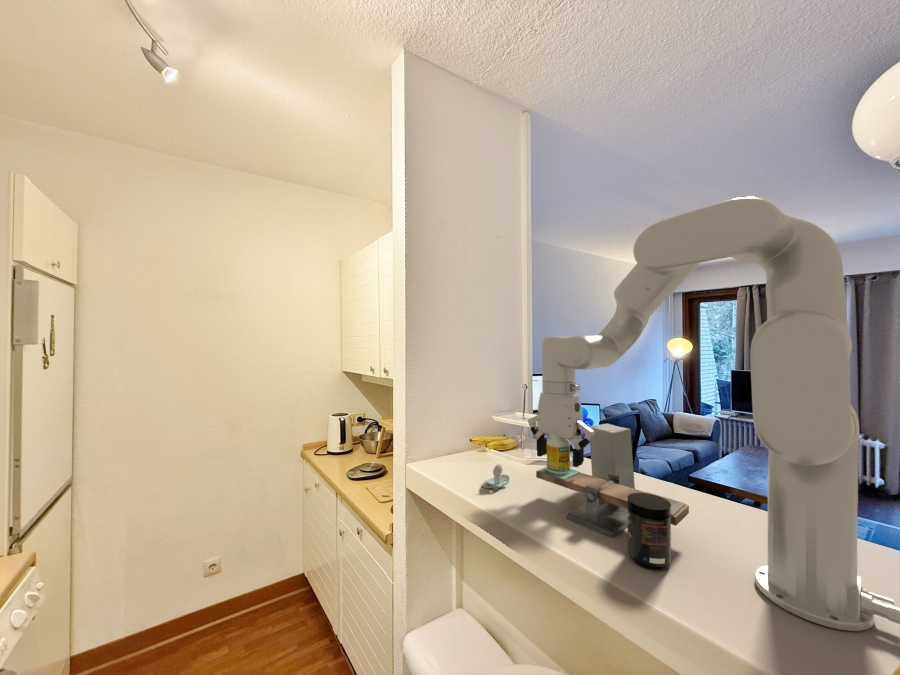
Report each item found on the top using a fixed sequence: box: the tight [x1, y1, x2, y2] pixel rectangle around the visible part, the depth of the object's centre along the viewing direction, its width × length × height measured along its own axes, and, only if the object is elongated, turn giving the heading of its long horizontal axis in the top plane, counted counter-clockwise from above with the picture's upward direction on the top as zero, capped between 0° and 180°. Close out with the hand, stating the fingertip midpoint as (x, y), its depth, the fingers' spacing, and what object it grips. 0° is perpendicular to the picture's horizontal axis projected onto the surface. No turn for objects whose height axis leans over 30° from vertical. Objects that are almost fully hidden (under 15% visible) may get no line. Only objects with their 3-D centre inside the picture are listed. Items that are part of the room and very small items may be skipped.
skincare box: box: [588, 423, 636, 489], centre depth 95 cm, size 8×7×16 cm
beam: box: [535, 466, 690, 527], centre depth 80 cm, size 30×9×2 cm, turn 41°
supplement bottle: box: [546, 435, 571, 475], centre depth 88 cm, size 5×5×10 cm
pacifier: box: [481, 463, 510, 490], centre depth 97 cm, size 7×6×6 cm
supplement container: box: [627, 493, 672, 571], centre depth 65 cm, size 7×7×10 cm
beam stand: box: [566, 473, 628, 539], centre depth 80 cm, size 10×13×8 cm
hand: (559, 460), depth 88 cm, fingers open, 9 cm apart
